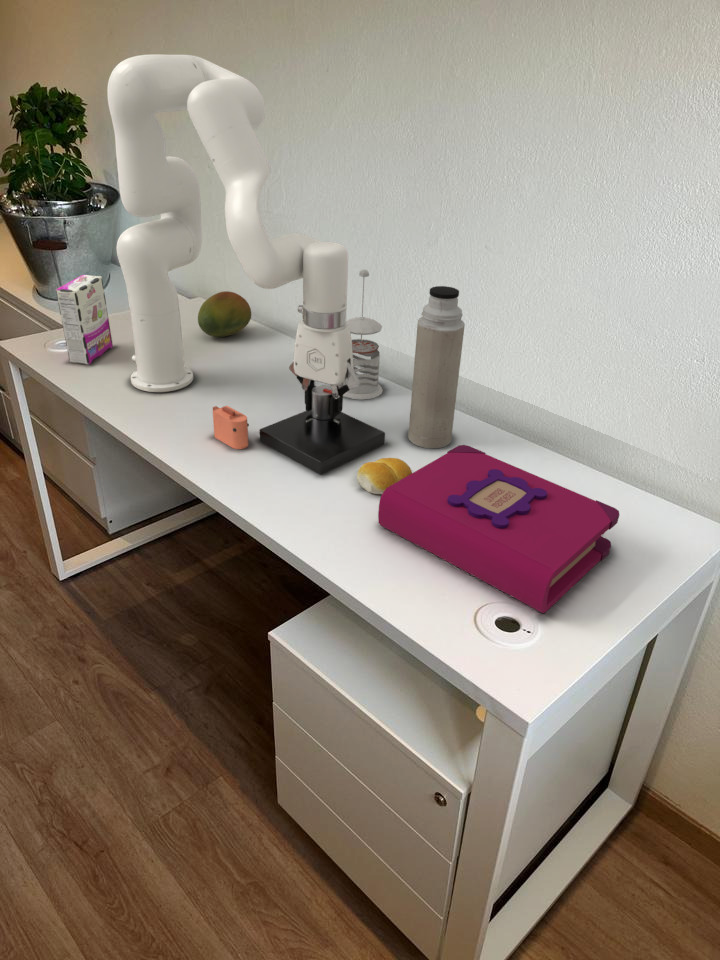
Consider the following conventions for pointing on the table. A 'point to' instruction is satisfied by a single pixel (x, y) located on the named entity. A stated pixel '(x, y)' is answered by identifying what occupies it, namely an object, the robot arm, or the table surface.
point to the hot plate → (322, 440)
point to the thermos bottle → (436, 369)
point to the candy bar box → (84, 318)
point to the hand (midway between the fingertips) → (323, 410)
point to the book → (500, 524)
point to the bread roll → (382, 474)
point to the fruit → (224, 314)
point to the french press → (366, 348)
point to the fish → (230, 427)
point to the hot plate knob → (321, 402)
